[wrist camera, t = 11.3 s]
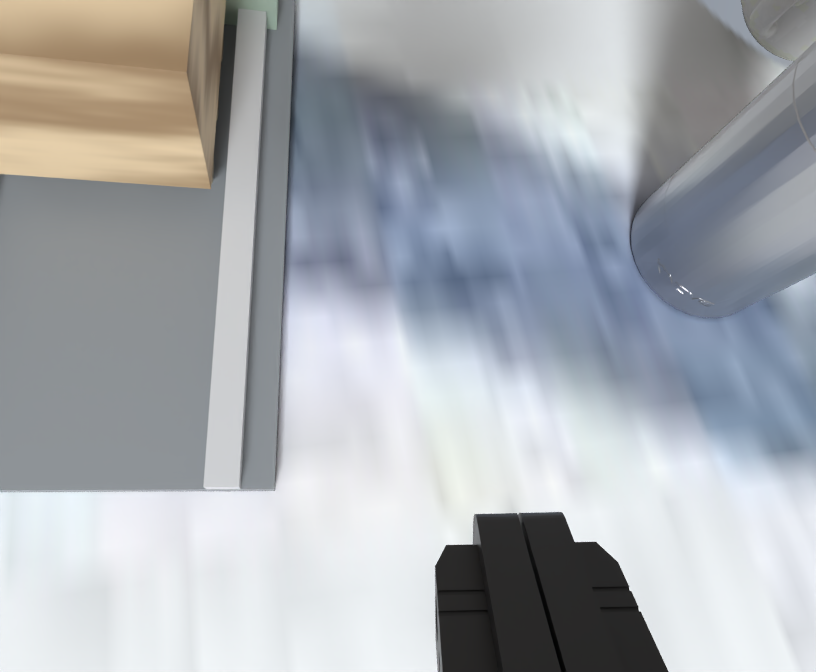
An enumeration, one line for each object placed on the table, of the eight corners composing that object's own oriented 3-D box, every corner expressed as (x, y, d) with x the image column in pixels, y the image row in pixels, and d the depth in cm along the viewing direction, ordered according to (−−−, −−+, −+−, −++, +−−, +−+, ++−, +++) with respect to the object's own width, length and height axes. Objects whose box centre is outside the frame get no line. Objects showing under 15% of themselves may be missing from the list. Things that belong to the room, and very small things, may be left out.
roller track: (274, 490, 33) (271, 477, 26) (-124, 492, 30) (-250, 477, 23) (294, 12, 42) (296, -95, 35) (-12, -25, 39) (-79, -151, 32)
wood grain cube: (214, 207, 36) (186, 72, 25) (6, 193, 34) (-116, 41, 24) (228, 27, 39) (209, -157, 29) (40, 5, 37) (-53, -198, 27)
